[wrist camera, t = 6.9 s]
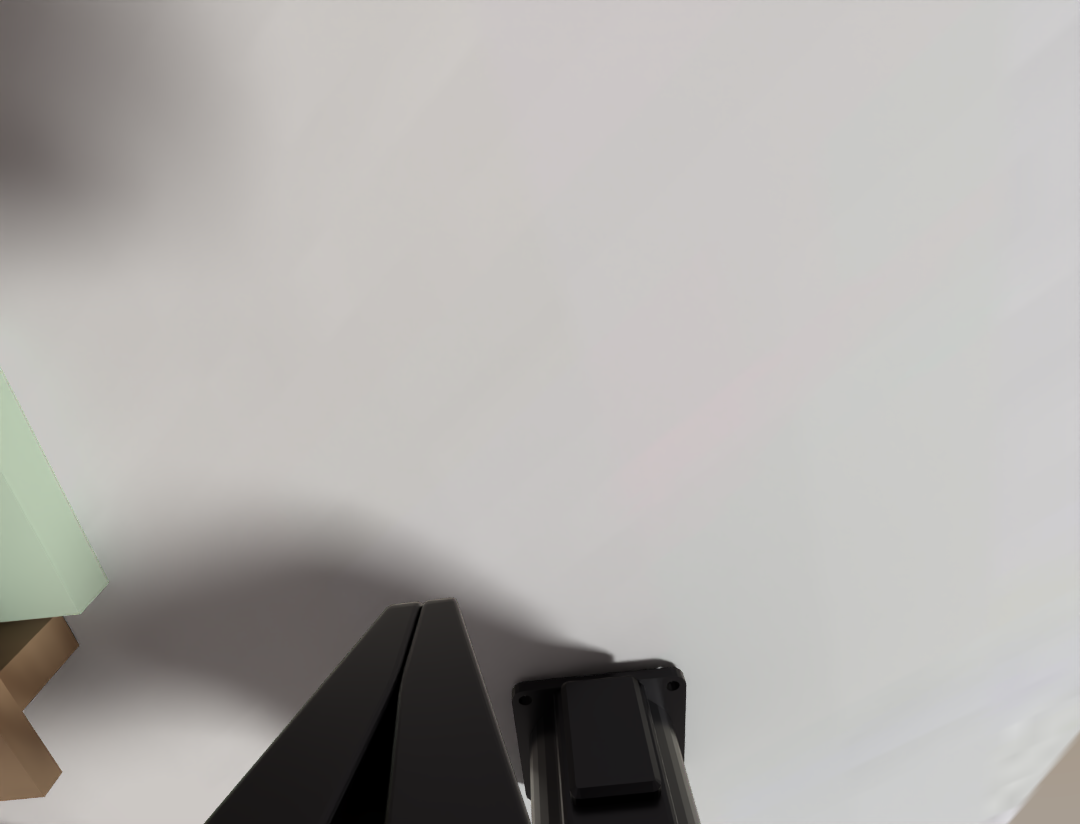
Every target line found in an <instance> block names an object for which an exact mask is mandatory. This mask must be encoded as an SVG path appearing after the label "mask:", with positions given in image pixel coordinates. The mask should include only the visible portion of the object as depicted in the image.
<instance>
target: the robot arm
mask: <svg viewBox="0 0 1080 824" xmlns="http://www.w3.org/2000/svg"><path fill="white" fill-rule="evenodd" d="M671 681H672V682H671ZM512 705H513V712H514V718H515V725H516V732H517V738H518V745H519V751H520V758H521V764H522V771H523V778H524V784H525V791H526V796H527V798H528V799H530V800H531V814H532V824H701V823H700V819H699V816H698V812H697V809H696V805H695V802H694V798H693V794H692V791H691V787H690V784H689V780H688V776H687V773H686V769H685V766H684V749H685V713H686V682H685V679H684V675H683V672H682V671H681V670H680V669H677V668H660V669H650V670H640V671H630V672H620V673H610V674H599V675H589V676H579V677H569V678H559V679H549V680H538V681H528V682H522V683H518V684H517V685H515V686H514V688H513V689H512ZM204 824H531V822H530V819H529V816H528V813H527V810H526V807H525V804H524V801H523V798H522V795H521V792H520V789H519V786H518V783H517V780H516V777H515V774H514V771H513V768H512V765H511V762H510V759H509V756H508V753H507V750H506V747H505V744H504V741H503V738H502V734H501V731H500V728H499V725H498V722H497V719H496V716H495V713H494V710H493V707H492V704H491V701H490V698H489V695H488V692H487V689H486V686H485V683H484V680H483V677H482V674H481V671H480V668H479V665H478V662H477V659H476V656H475V653H474V650H473V647H472V644H471V641H470V638H469V635H468V632H467V629H466V626H465V623H464V620H463V617H462V614H461V611H460V608H459V605H458V602H457V600H456V599H455V598H452V597H451V598H442V599H434V600H428V601H426V602H425V603H424V604H422V603H420V602H408V603H400V604H393V605H390V606H389V607H388V608H386V609H385V611H384V612H383V613H382V614H381V615H380V616H379V618H378V619H377V620H376V621H375V622H374V624H373V625H372V626H371V627H370V628H369V629H368V631H367V632H366V633H365V634H364V635H363V637H362V638H361V639H360V640H359V641H358V642H357V644H356V645H355V646H354V647H353V648H352V650H351V651H350V652H349V653H348V654H347V655H346V657H345V658H344V659H343V660H342V661H341V663H340V664H339V665H338V666H337V667H336V668H335V670H334V671H333V672H332V673H331V674H330V675H329V677H328V678H327V679H326V680H325V681H324V683H323V684H322V685H321V686H320V687H319V688H318V690H317V691H316V692H315V693H314V694H313V696H312V697H311V698H310V699H309V700H308V701H307V703H306V704H305V705H304V706H303V707H302V709H301V710H300V711H299V712H298V713H297V714H296V716H295V717H294V718H293V719H292V720H291V722H290V723H289V724H288V725H287V726H286V727H285V729H284V730H283V731H282V732H281V733H280V735H279V736H278V737H277V738H276V739H275V740H274V742H273V743H272V744H271V745H270V746H269V747H268V749H267V750H266V751H265V752H264V753H263V755H262V756H261V757H260V758H259V759H258V760H257V762H256V763H255V764H254V765H253V766H252V768H251V769H250V770H249V771H248V772H247V773H246V775H245V776H244V777H243V778H242V779H241V781H240V782H239V783H238V784H237V785H236V786H235V788H234V789H233V790H232V791H231V792H230V794H229V795H228V796H227V797H226V798H225V799H224V801H223V802H222V803H221V804H220V805H219V807H218V808H217V809H216V810H215V811H214V812H213V814H212V815H211V816H210V817H209V818H208V819H207V821H206V822H205V823H204Z"/></svg>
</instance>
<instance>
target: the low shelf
mask: <svg viewBox="0 0 1080 824" xmlns="http://www.w3.org/2000/svg"><path fill="white" fill-rule="evenodd" d="M78 646H79V644H78V643H77V641H76V639H75V637H74V636H73V634H72V632H71V630H70V629H69V627H68V625H67V623H66V621H65V620H64V618H63V616H59V617H49V618H38V619H28V620H18V621H8V622H0V801H6V800H16V799H27V798H37V797H45V796H46V794H47V793H48V791H49V790H50V789H51V787H52V786H53V784H54V783H55V782H56V780H57V779H58V777H59V776H60V775H61V773H62V771H61V769H60V768H59V766H58V765H57V763H56V762H55V760H54V759H53V757H52V756H51V754H50V753H49V751H48V750H47V748H46V747H45V745H44V744H43V742H42V741H41V739H40V738H39V736H38V735H37V733H36V732H35V730H34V729H33V727H32V725H31V724H30V722H29V721H28V719H27V718H26V716H25V715H24V713H23V712H22V711H23V710H24V709H25V707H26V706H27V705H28V704H29V703H30V702H31V701H32V699H33V698H34V697H35V696H36V695H37V694H38V692H39V691H40V690H41V689H42V688H43V687H44V686H45V684H46V683H47V682H48V681H49V680H50V679H51V677H52V676H53V675H54V674H55V673H56V672H57V671H58V669H59V668H60V667H61V666H62V665H63V664H64V663H65V661H66V660H67V659H68V658H69V657H70V656H71V654H72V653H73V652H74V651H75V650H76V649H77V648H78Z"/></svg>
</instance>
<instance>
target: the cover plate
mask: <svg viewBox="0 0 1080 824" xmlns="http://www.w3.org/2000/svg"><path fill="white" fill-rule="evenodd" d="M108 583H109V581H108V579H107V577H106V575H105V573H104V571H103V569H102V567H101V565H100V563H99V561H98V559H97V557H96V555H95V553H94V551H93V549H92V547H91V545H90V544H89V542H88V540H87V538H86V536H85V534H84V532H83V530H82V528H81V526H80V524H79V522H78V520H77V518H76V516H75V514H74V512H73V510H72V508H71V506H70V504H69V502H68V500H67V498H66V496H65V494H64V492H63V490H62V488H61V486H60V484H59V482H58V480H57V478H56V476H55V474H54V472H53V470H52V468H51V466H50V464H49V462H48V460H47V458H46V456H45V454H44V452H43V450H42V448H41V446H40V444H39V442H38V440H37V438H36V436H35V434H34V432H33V430H32V428H31V426H30V424H29V422H28V420H27V418H26V416H25V414H24V412H23V410H22V408H21V406H20V404H19V402H18V400H17V399H16V397H15V395H14V393H13V391H12V389H11V387H10V385H9V383H8V381H7V379H6V377H5V375H4V373H3V371H2V369H1V367H0V622H8V621H18V620H28V619H38V618H49V617H59V616H69V615H79V614H81V613H82V612H83V611H84V610H85V609H86V608H87V607H88V606H89V604H90V603H91V602H92V601H93V600H94V599H95V598H96V597H97V596H98V595H99V593H100V592H101V591H102V590H103V589H104V588H105V587H106V586H107V585H108Z"/></svg>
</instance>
